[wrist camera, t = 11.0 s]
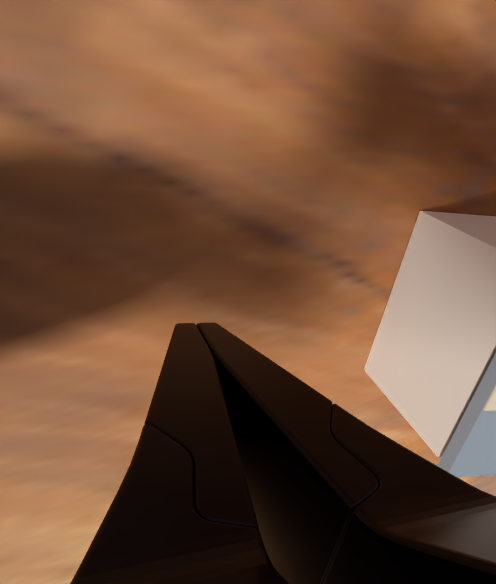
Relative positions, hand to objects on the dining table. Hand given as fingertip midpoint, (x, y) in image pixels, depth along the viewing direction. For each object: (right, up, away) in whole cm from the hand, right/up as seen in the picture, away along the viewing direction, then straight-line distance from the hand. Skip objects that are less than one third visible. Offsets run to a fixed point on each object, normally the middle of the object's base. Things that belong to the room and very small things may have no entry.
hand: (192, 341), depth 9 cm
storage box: (+14, +1, +21) cm, 25 cm away
